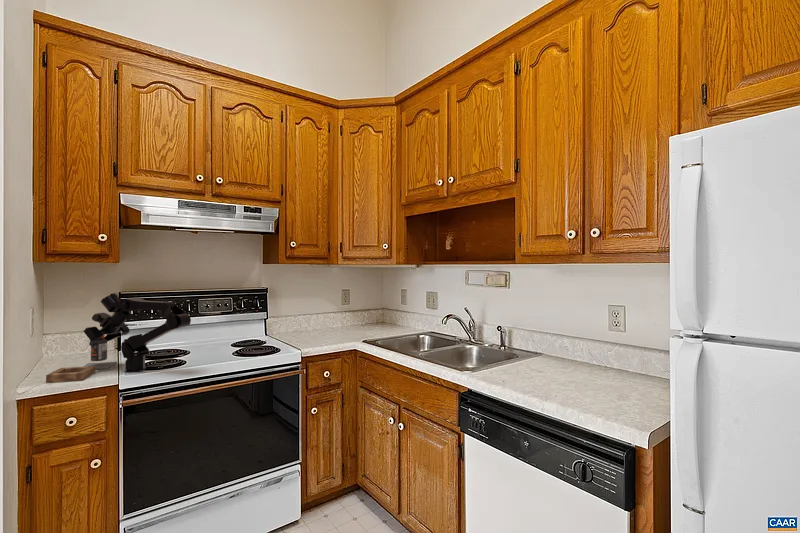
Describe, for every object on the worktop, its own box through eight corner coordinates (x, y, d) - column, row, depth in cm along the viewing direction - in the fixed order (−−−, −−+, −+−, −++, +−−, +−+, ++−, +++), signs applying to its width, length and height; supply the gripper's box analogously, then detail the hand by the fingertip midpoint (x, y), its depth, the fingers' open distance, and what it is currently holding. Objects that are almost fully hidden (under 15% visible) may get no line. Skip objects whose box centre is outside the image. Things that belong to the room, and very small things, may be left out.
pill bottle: (88, 360, 183) (88, 335, 183) (103, 358, 188) (103, 333, 188) (94, 362, 180) (94, 336, 180) (109, 359, 185) (109, 334, 185)
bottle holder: (94, 373, 175) (94, 366, 175) (82, 380, 163) (82, 373, 163) (60, 375, 171) (60, 367, 171) (46, 382, 160) (46, 375, 160)
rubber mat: (117, 364, 191) (117, 361, 191) (108, 369, 180) (108, 367, 180) (89, 365, 187) (89, 363, 187) (78, 371, 177) (78, 368, 177)
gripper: (124, 304, 192) (104, 327, 194) (87, 308, 174) (65, 334, 176) (138, 322, 191) (118, 345, 193) (103, 327, 173) (81, 353, 174)
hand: (96, 343), depth 184 cm, fingers closed on pill bottle, 6 cm apart
